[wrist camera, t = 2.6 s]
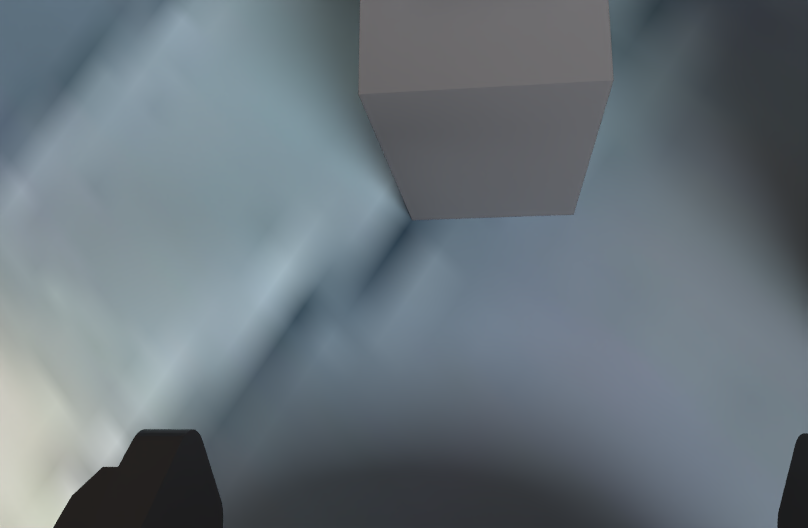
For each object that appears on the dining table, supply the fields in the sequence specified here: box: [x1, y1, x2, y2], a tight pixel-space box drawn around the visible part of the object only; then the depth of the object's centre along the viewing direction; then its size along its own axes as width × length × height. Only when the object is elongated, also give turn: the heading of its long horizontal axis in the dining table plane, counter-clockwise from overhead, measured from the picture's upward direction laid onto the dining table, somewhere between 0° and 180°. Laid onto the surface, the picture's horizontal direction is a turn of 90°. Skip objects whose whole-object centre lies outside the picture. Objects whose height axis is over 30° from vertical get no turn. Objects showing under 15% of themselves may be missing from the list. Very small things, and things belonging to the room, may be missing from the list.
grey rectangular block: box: [358, 0, 613, 220], centre depth 21 cm, size 6×6×11 cm
